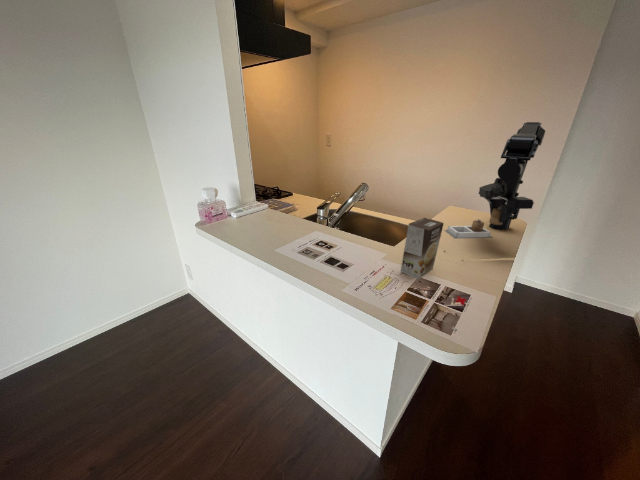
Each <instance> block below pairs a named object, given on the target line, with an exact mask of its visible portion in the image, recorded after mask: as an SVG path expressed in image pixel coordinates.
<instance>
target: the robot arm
mask: <svg viewBox="0 0 640 480" xmlns="http://www.w3.org/2000/svg"><path fill="white" fill-rule="evenodd" d="M545 135H546V130H545V129H544V128H543V127H542V122H540V121H534V122H533V121H526V122H524V123H523V125H522V127H521V128H519V129H517V132H516V134H515V133H514V134H513V135H511V136H510V138H507V140H506V143H505V146H504V148H503V150H502V153H501V155H500V159H504V160H505V161H504V163H502V164H501V165H500V166H499V167H498V169H497V175H498V177H496V179H495V180H494V182H493V183H489V184H485V185H483V186H480V187H479V190H478V195H479V197H480V198H484V199H485V200H487V202H488V205H489V211H490V212H489V213H490V214H489V215H490V216H491V214H492V211H493V208H498V207H502V211H501V215H500V219H499V222H500V223H502V222H503V223H502V225H495V224H491V223H489V228H491V229H493V230H499V231H506V230H509V228H510V226H511V222H512V220H513V221H514V220H517V219H518V217H519V213H520V210H525V209H527V210H532V208H533V206H534V204H535V202H534V200H533V199H531V198H528V197H525V196H519V194H520V193H519V192H518V190H519V187H520V185H522V184H523V183H524V180H522V178H523V176H524V173H525V170H526V167H527V165H528V162H529V161H531V159H532V158H533V159H534V157H535V156H536V153H537V150H538V148H539V146H542V143H543V140H544V138H545Z"/></svg>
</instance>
